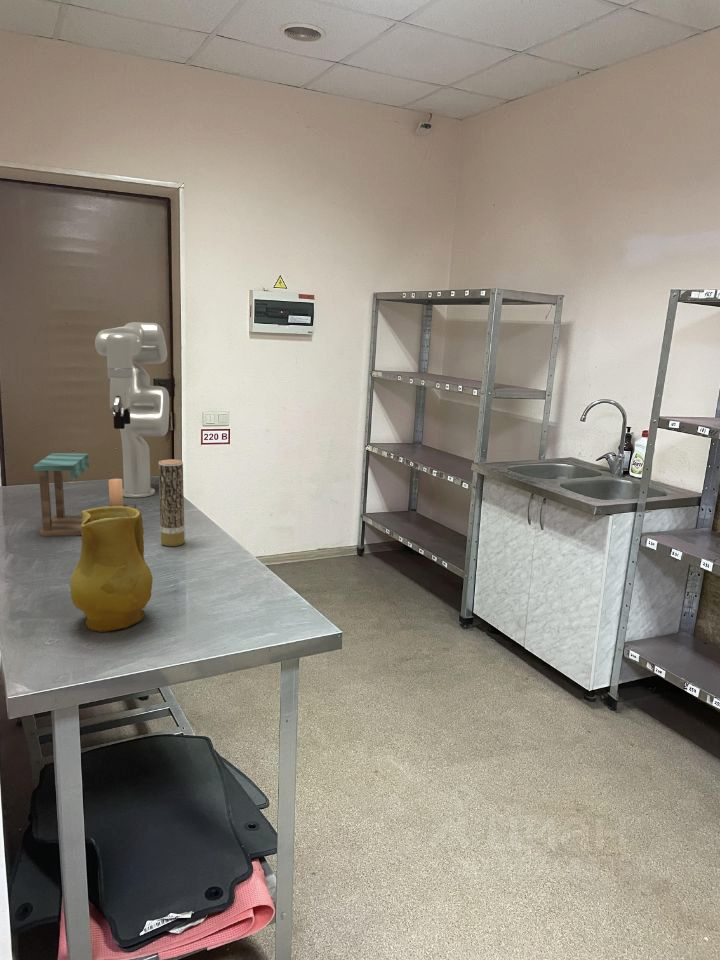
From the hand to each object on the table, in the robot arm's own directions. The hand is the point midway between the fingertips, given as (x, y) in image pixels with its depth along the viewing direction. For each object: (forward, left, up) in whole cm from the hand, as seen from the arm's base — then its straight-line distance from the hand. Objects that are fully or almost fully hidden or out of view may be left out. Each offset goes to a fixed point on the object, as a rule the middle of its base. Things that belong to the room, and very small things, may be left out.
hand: (122, 426), depth 222 cm
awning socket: (+14, -8, -30) cm, 34 cm away
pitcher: (+82, +13, -31) cm, 88 cm away
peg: (+14, 0, -29) cm, 32 cm away
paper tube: (+30, +19, -31) cm, 47 cm away
